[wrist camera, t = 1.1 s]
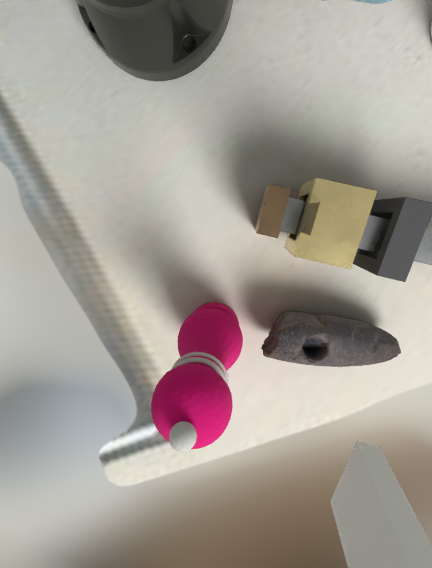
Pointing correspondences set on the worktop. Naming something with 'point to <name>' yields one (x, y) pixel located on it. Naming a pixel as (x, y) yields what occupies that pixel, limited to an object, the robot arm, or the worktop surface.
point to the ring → (396, 237)
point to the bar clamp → (288, 214)
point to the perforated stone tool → (328, 341)
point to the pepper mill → (199, 380)
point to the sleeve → (331, 222)
